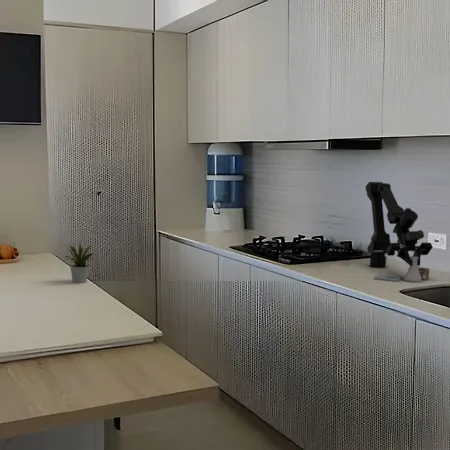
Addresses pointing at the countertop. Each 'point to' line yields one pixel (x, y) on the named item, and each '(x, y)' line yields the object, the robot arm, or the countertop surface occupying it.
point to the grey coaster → (387, 277)
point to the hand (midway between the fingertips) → (415, 265)
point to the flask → (413, 271)
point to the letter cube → (424, 273)
